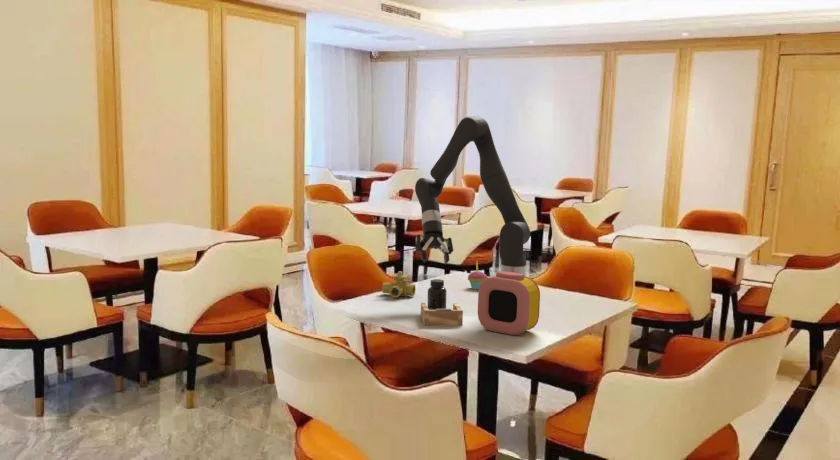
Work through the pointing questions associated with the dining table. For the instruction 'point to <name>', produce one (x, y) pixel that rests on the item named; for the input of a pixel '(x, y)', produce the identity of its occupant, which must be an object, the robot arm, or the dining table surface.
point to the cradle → (442, 315)
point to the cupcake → (476, 278)
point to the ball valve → (399, 286)
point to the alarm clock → (508, 303)
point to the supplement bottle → (436, 295)
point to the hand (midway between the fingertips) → (435, 261)
